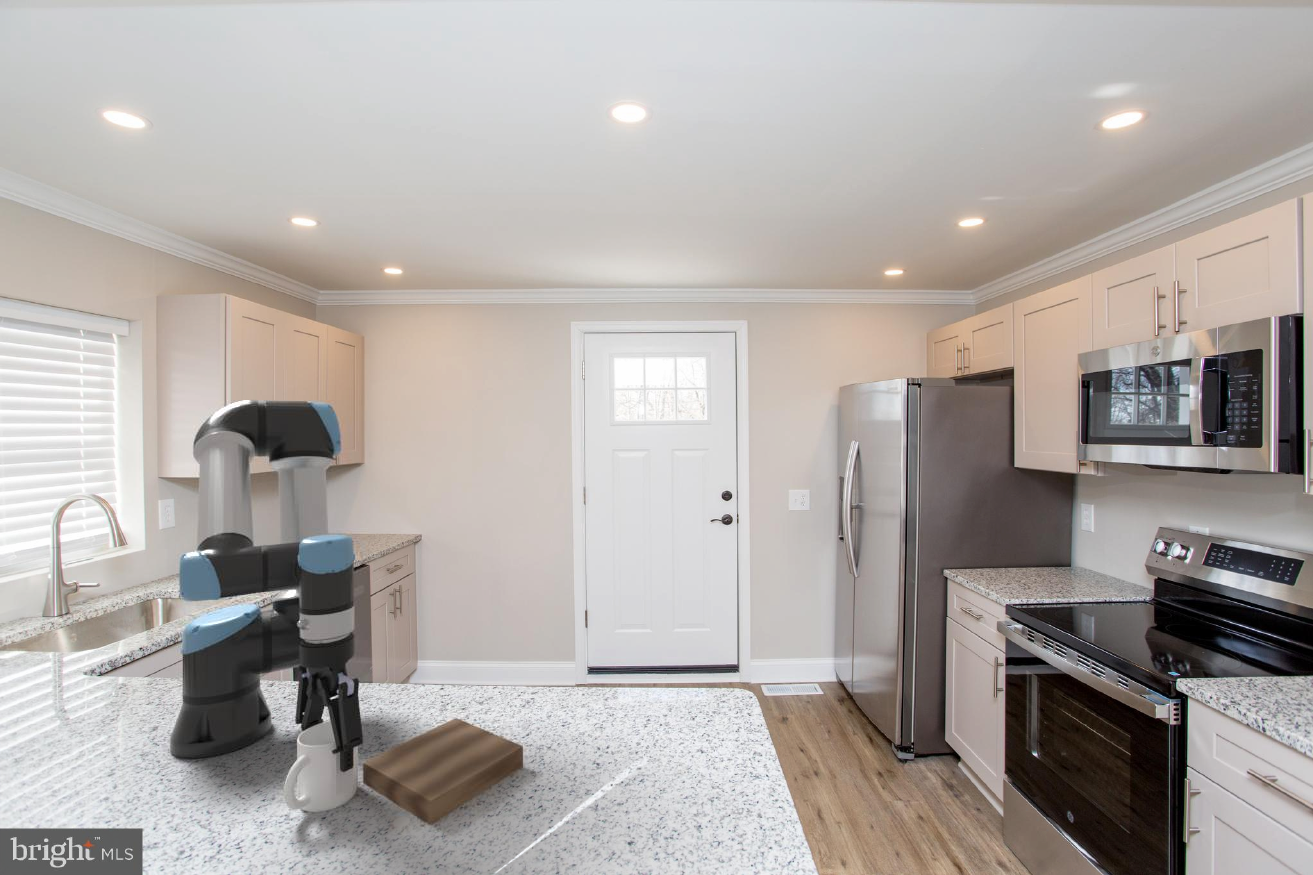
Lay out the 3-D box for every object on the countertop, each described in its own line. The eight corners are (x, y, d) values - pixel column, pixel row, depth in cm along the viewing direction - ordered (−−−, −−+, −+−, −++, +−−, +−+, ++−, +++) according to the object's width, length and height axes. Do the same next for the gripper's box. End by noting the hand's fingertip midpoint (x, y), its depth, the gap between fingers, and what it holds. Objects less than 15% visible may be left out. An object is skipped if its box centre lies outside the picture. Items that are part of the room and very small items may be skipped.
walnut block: (363, 786, 95) (362, 762, 95) (456, 738, 110) (456, 717, 110) (430, 828, 85) (430, 800, 85) (523, 769, 100) (522, 746, 100)
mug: (308, 835, 83) (307, 763, 83) (261, 825, 85) (261, 755, 85) (369, 786, 95) (369, 722, 95) (327, 778, 97) (327, 716, 97)
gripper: (269, 629, 94) (270, 769, 94) (338, 657, 83) (339, 817, 83) (318, 617, 101) (318, 748, 101) (388, 641, 89) (389, 790, 89)
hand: (328, 779), depth 92 cm, fingers closed on mug, 8 cm apart
